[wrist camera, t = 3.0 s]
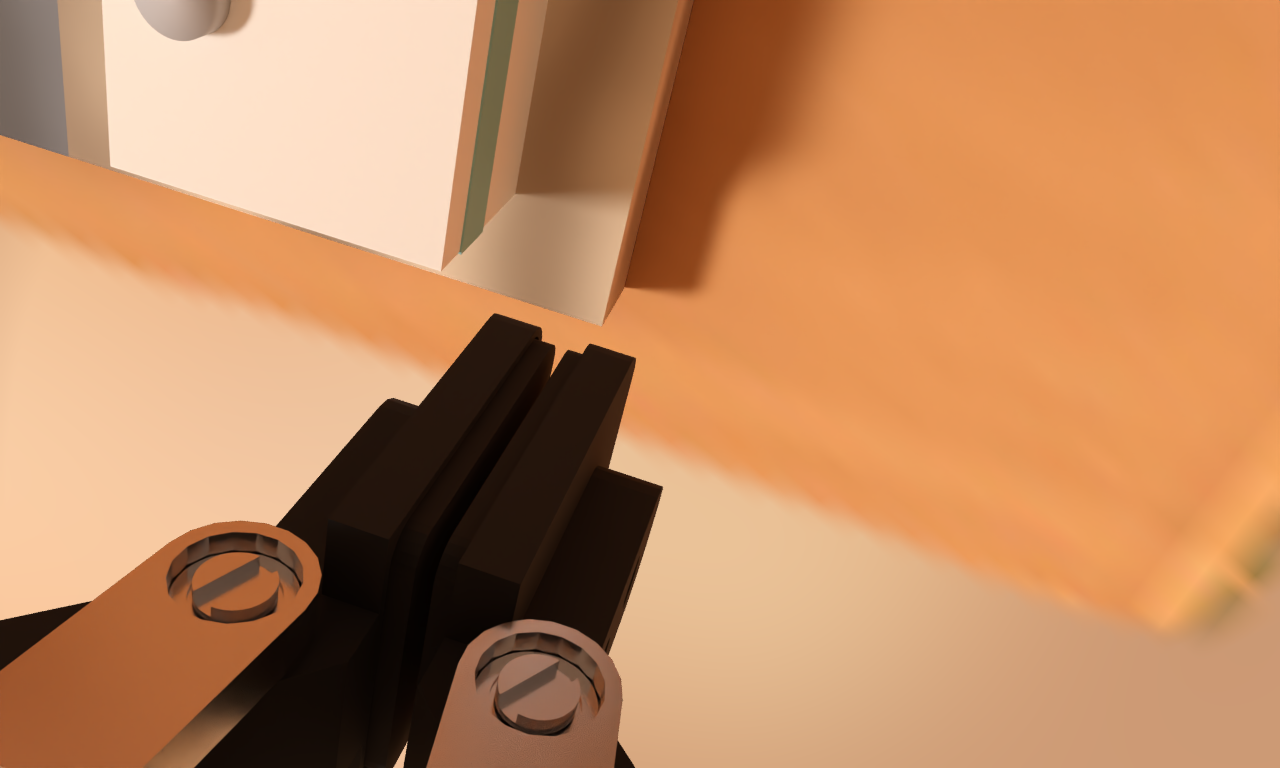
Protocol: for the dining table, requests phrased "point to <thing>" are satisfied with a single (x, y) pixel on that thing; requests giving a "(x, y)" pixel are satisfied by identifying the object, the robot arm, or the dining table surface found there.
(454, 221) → the carton
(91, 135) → the beige flat board
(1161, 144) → the dining table surface
